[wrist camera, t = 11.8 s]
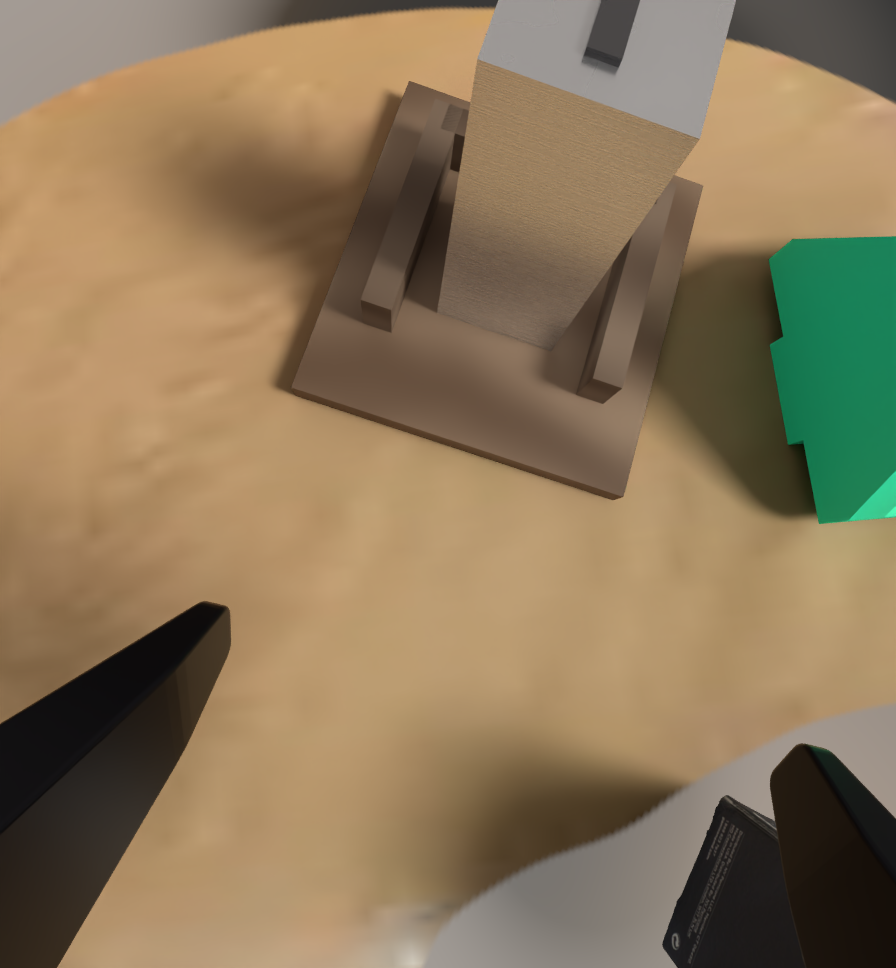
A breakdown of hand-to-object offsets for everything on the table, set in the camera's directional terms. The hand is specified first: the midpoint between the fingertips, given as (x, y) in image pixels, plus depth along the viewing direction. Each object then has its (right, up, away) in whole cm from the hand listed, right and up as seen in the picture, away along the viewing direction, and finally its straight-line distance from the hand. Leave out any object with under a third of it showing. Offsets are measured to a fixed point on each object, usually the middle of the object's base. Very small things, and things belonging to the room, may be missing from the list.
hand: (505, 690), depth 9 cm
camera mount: (+18, +7, +17) cm, 26 cm away
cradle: (+2, +12, +16) cm, 20 cm away
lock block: (+2, +12, +15) cm, 19 cm away
